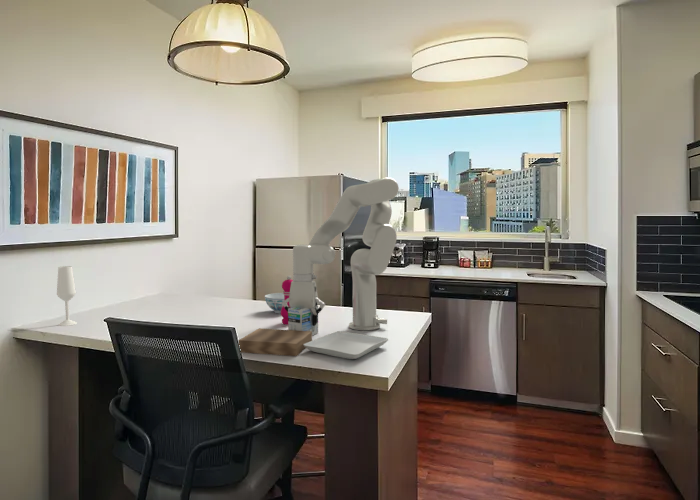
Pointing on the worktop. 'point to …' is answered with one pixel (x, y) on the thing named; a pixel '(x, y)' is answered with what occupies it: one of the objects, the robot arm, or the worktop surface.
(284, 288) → the pepper mill
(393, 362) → the worktop surface
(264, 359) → the worktop surface
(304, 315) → the light bulb box
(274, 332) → the riser block
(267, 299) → the chinaware
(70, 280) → the champagne flute
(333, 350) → the salad plate
